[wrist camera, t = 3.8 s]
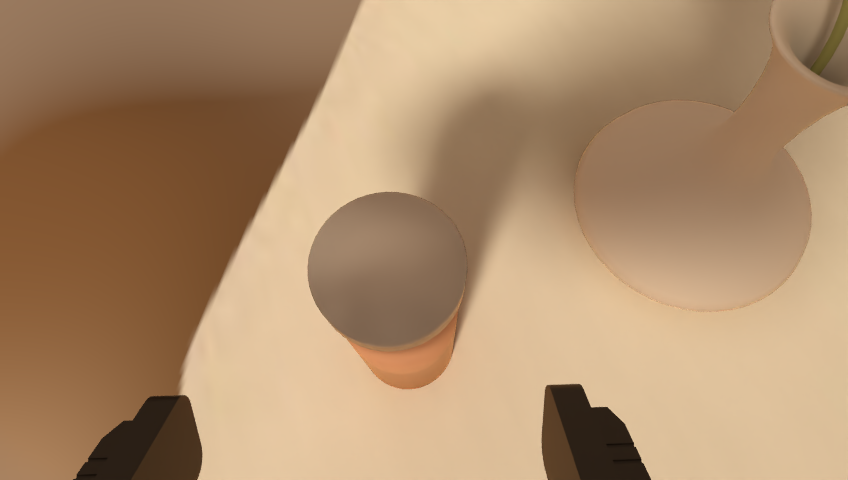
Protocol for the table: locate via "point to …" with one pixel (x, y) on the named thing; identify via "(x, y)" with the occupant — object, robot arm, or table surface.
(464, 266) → the shaker
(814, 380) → the table surface
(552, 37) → the table surface
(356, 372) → the table surface
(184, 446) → the robot arm
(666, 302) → the flower in vase
